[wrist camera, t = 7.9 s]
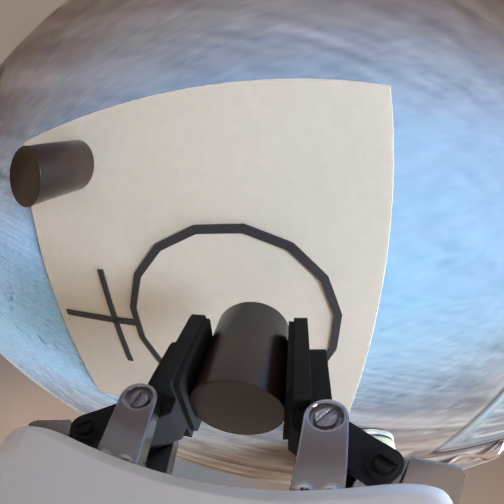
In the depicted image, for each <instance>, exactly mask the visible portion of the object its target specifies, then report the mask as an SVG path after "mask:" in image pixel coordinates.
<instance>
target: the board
mask: <svg viewBox="0 0 504 504" xmlns="http://www.w3.org/2000/svg"><path fill="white" fill-rule="evenodd" d="M71 140H81V141H83V142H85V143H86V144H87V145H88V146H89V147H90V149H91V151H92V153H93V157H94V171H93V175H92V178H91V180H90V182H89V183H88V184H87V185H86V186H85V187H84V188H83V189H80V190H77V191H74V192H71V193H68V194H65V195H62V196H59V197H56V198H53V199H50V200H47V201H44V202H41V203H39V204H36V205H33V206H31V209H32V214H33V219H34V224H35V229H36V233H37V238H38V242H39V246H40V250H41V254H42V257H43V261H44V264H45V268H46V271H47V274H48V277H49V281H50V284H51V287H52V290H53V292H54V295H55V298H56V301H57V303H58V306H59V309H60V311H61V314H62V316H63V319H64V321H65V324H66V326H67V328H68V331H69V333H70V335H71V337H72V340H73V342H74V344H75V346H76V348H77V350H78V352H79V354H80V356H81V358H82V360H83V362H84V364H85V366H86V368H87V370H88V372H89V374H90V376H91V377H92V379H93V381H94V383H95V385H96V386H97V388H98V390H100V391H103V392H106V393H110V394H113V395H116V396H120V395H121V393H122V392H123V391H124V390H125V389H126V388H127V387H129V386H131V385H133V384H137V383H144V384H148V382H149V381H150V379H151V377H152V375H153V373H154V372H155V370H156V368H157V366H158V364H159V363H160V361H161V359H162V357H163V356H164V354H165V352H166V350H167V349H168V347H169V345H170V344H171V343H172V342H176V341H177V339H178V337H179V335H180V333H181V332H182V330H183V328H184V326H185V325H186V323H187V321H188V319H189V317H190V316H191V314H198V315H205V316H206V318H207V319H210V322H211V328H212V334H214V332H215V329H216V327H217V324H218V322H219V319H220V317H221V315H222V314H223V313H224V312H225V311H226V310H227V309H228V308H230V307H231V306H233V305H236V304H238V303H242V302H259V303H263V304H266V305H269V306H271V307H273V308H274V309H276V310H277V311H279V312H280V313H281V314H282V315H283V317H284V318H285V320H286V321H287V323H288V325H289V321H294V318H307V319H308V333H309V348H310V349H326V353H327V360H328V368H329V377H330V385H331V394H332V400H335V401H337V402H339V403H341V404H342V405H344V406H345V408H346V409H347V411H348V414H349V412H350V409H351V406H352V403H353V400H354V397H355V394H356V391H357V388H358V385H359V382H360V378H361V375H362V372H363V368H364V365H365V361H366V358H367V354H368V350H369V346H370V342H371V338H372V334H373V330H374V325H375V321H376V316H377V312H378V307H379V302H380V296H381V291H382V285H383V279H384V273H385V266H386V259H387V252H388V244H389V235H390V225H391V213H392V199H393V176H394V134H393V112H392V98H391V87H390V85H384V84H377V83H369V82H360V81H350V80H337V79H315V78H280V79H258V80H245V81H234V82H225V83H217V84H209V85H202V86H196V87H190V88H185V89H179V90H174V91H169V92H164V93H160V94H156V95H151V96H147V97H143V98H139V99H136V100H132V101H128V102H125V103H121V104H118V105H115V106H111V107H108V108H105V109H102V110H99V111H96V112H93V113H91V114H88V115H85V116H82V117H80V118H77V119H75V120H72V121H69V122H67V123H65V124H62V125H60V126H57V127H55V128H53V129H51V130H48V131H46V132H44V133H42V134H40V135H38V136H36V137H34V138H32V139H30V140H28V141H26V142H24V146H27V145H34V144H42V143H51V142H60V141H71Z"/></svg>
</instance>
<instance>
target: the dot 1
mask: <svg viewBox="0 0 504 504" xmlns="http://www.w3.org/2000/svg"><path fill="white" fill-rule="evenodd" d="M93 171H94V157H93V153H92V151H91V149H90V147H89V146H88V145H87V144H86V143H85V142H83V141H81V140H71V141H60V142H51V143H42V144H34V145H27V146H23V147H21V148H19V149H18V150H17V152H16V153H15V155H14V157H13V159H12V163H11V168H10V183H11V189H12V192H13V195H14V197H15V199H16V200H17V202H18V203H19V204H20V205H21V206H23V207H31V206H33V205H36V204H39V203H41V202H44V201H47V200H50V199H53V198H56V197H59V196H62V195H65V194H68V193H71V192H74V191H77V190H80V189H83V188H84V187H85V186H86V185H87V184H88V183H89V182H90V180H91V178H92V175H93Z"/></svg>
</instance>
